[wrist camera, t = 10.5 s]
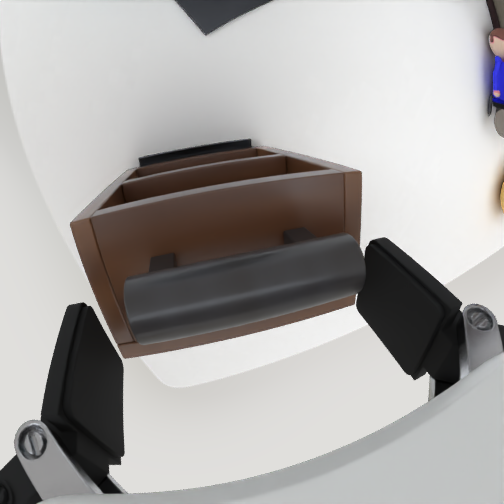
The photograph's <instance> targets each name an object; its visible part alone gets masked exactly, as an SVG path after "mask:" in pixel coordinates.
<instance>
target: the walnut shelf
mask: <svg viewBox="0 0 504 504" xmlns="http://www.w3.org/2000/svg"><path fill="white" fill-rule="evenodd" d="M361 203H362V173H361V171H359V170H356V169H353V168H349V167H346V166H342V165H339V164H335V163H332V162H328V161H325V160H321V159H317V158H313V157H309V156H305V155H301V154H297V153H293V152H289V151H285V150H280V149H276V148H271V147H267V146H259V147H251V148H243V149H235V150H228V151H221V152H215V153H209V154H203V155H197V156H191V157H185V158H180V159H175V160H170V161H165V162H160V163H155V164H151V165H146V166H142V167H138V168H133V169H129V170H127V171H126V172H124V173H123V174H122V175H121V176H120V177H119V178H117V179H116V180H115V181H114V182H113V183H112V184H111V185H109V186H108V187H107V188H106V189H105V190H104V191H103V192H102V193H101V194H100V195H98V196H97V197H96V198H95V199H94V200H93V201H92V202H91V203H90V204H89V205H88V206H87V207H86V208H85V209H84V210H83V211H82V212H81V213H80V214H79V215H78V216H77V217H76V218H75V219H74V220H73V221H72V222H71V223H70V227H71V230H72V233H73V237H74V240H75V243H76V246H77V249H78V252H79V255H80V258H81V261H82V264H83V266H84V269H85V272H86V275H87V277H88V280H89V282H90V285H91V287H92V290H93V292H94V295H95V297H96V300H97V302H98V305H99V307H100V309H101V311H102V314H103V316H104V318H105V320H106V323H107V325H108V327H109V329H110V331H111V333H112V335H113V337H114V340H115V342H116V343H117V345H118V348H119V350H120V352H121V354H122V356H123V357H124V358H125V359H126V358H133V357H139V356H145V355H151V354H157V353H163V352H168V351H174V350H179V349H184V348H189V347H194V346H199V345H204V344H209V343H214V342H218V341H223V340H227V339H231V338H236V337H240V336H244V335H248V334H252V333H256V332H260V331H264V330H268V329H272V328H276V327H280V326H284V325H287V324H291V323H294V322H298V321H302V320H305V319H309V318H312V317H315V316H319V315H322V314H326V313H329V312H332V311H335V310H339V309H342V308H345V307H348V306H351V305H354V304H355V297H356V294H357V293H359V292H360V291H361V290H362V289H363V287H364V284H365V280H366V266H365V260H364V256H363V253H362V251H361V248H360V231H361Z"/></svg>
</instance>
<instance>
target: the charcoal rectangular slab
mask: <svg viewBox="0 0 504 504" xmlns="http://www.w3.org/2000/svg"><path fill="white" fill-rule="evenodd" d="M243 148H251V139H243V140H235V141H227V142H220V143H214V144H207V145H201V146H195V147H189V148H184V149H178V150H173V151H168V152H163V153H158V154H153V155H149V156H144V157H140V158H139V163H140V167H142V166H146V165H151V164H155V163H160V162H165V161H170V160H175V159H180V158H185V157H191V156H197V155H203V154H209V153H215V152H221V151H228V150H235V149H243Z"/></svg>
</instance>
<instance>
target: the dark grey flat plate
mask: <svg viewBox="0 0 504 504" xmlns="http://www.w3.org/2000/svg"><path fill="white" fill-rule="evenodd" d="M175 1H176V2H177V3H178V4H179V5H180V6H181V8H182V9H183V10H184V11H185V12H186V13H187V14H188V15H189V17H190V18H191V19H192V20H193V21H194V22H195V24H196V25H197V26H198V27H199V28H200V30H201V31H202V32H203V33H204V34H205V35H207V34H208V33H210V32H212V31H213V30H215V29H217V28H219V27H220V26H222V25H224V24H226V23H227V22H229V21H231V20H233V19H235V18H237V17H239V16H241V15H242V14H244V13H246V12H248V11H250V10H252V9H255V8H257V7H259V6H261V5H263V4H265V3H267V2H270V1H272V0H175Z"/></svg>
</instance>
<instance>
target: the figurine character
mask: <svg viewBox="0 0 504 504" xmlns="http://www.w3.org/2000/svg"><path fill="white" fill-rule="evenodd" d="M489 44H490V47H491V49H492V51H493V53H494V54H495V55H496V57H495V67H494V71H493V95H492V94H491V96H490V100H489V108H488V114H489V116H490V114H491V111H492V103H493V106H494V107H497V112H496V115H495V119H494V124H495V128H496V131H497V132H498V134H499V135H500V136H501V137H503V138H504V29H503V28H496V29H494V30H492V31H491V33H490V35H489ZM493 96H494V97H496V98H493Z"/></svg>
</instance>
